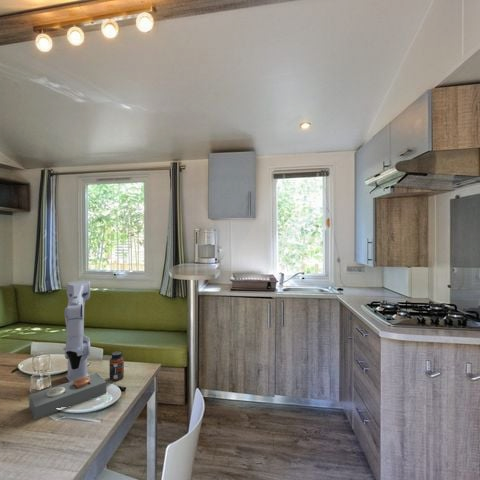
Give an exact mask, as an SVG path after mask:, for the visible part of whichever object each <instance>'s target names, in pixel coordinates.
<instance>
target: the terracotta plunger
mask: <svg viewBox="0 0 480 480" xmlns="http://www.w3.org/2000/svg"><path fill="white" fill-rule="evenodd" d="M88 382H90V378H89V377H81V378H78V379H76V380H74V381H73V385H75V386H76V389H78V388H81V387H84V386H86V385H88Z"/></svg>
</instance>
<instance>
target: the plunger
mask: <svg viewBox="0 0 480 480" xmlns="http://www.w3.org/2000/svg"><path fill="white" fill-rule="evenodd" d="M64 392H65V388H64V387H57V388H53V389H51V390H49V391H48V392H47V393H46V394H47V397H49V398H51V397H55V396H59V395H61V394H63V393H64Z"/></svg>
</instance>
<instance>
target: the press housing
mask: <svg viewBox="0 0 480 480" xmlns="http://www.w3.org/2000/svg"><path fill="white" fill-rule="evenodd" d="M86 377H89V378H90V382H88V385H86V386H84V387H81V388H78V389H76V386H75V385H73V381H71V382H70V381H68V382H65V383H62V384H59V385H55V386H53V387H50V388H47V389H44V390H41V391H40V390H39V391H38V392H34V393H31V394H29V395H28V400H29V401H28V403H29V405H28V407H29V409H30V411H31V413H32V416H33V418H34V420H35V421H36V420H39V419H43V418H44V417H47V416H49V415H52V414H55V413H57V412H59V411H58V410H57V409H56V408H61V407H68V408H70V407H69V406H71V407H73V406H76V405H79V404H81V403H84V402H86V401H87V402H88V401H89V400H92V399H95V398H97V397H100V396H102V395H104V394H105V395H106V394H107V381H106V380H104V378H103V377H101V376H100V374H98V373H97V372H96V373H93V374H89V376H86ZM57 387H64V388H65V392H64V393H63V394H61V395H59V396H55V397H51V398H49V397H47V394H46V393H47V392H48V391H49V390H51V389H53V388H57Z"/></svg>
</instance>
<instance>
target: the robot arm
mask: <svg viewBox="0 0 480 480" xmlns="http://www.w3.org/2000/svg"><path fill="white" fill-rule="evenodd" d="M66 295H67V301H68V302H67V307H65V308H64V319H65V320H64V321H65V326H66V327H65V328H66V332H65V333H66V342H65V346H64V347H63V348H62V349H63V351H64V358H65V359H66V360H67V374H65V378H66V379H67V380H68V382H71V381H74V380H76V379H78V378H81V377H86V376H89V375H90V374H89V373H88V357H89V356H90V355H91V340H90V337H88V336H87V335H85V334H84V332H85V329H84V328H85V320H84V319H85V304H86V301H88V300H90V297H91V281H90V280H81V281H80V280H77V281H68V282H66Z"/></svg>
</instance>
